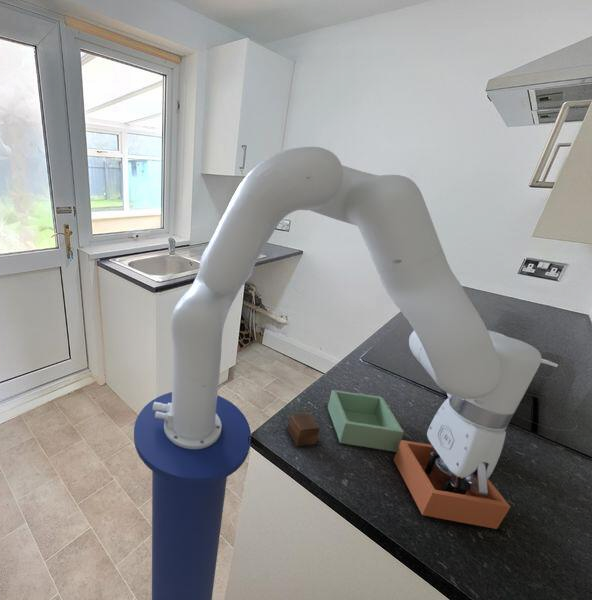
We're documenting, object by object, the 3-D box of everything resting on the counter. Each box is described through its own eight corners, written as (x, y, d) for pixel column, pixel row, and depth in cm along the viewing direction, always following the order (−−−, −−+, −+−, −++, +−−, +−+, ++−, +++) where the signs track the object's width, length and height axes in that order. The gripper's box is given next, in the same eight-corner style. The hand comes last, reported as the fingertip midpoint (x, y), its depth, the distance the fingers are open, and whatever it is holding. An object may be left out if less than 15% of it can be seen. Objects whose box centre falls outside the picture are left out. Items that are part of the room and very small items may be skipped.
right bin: (422, 515, 54) (432, 492, 52) (393, 460, 64) (401, 439, 62) (497, 529, 52) (510, 506, 50) (455, 470, 63) (464, 449, 61)
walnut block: (296, 446, 67) (300, 429, 65) (287, 430, 71) (290, 414, 69) (315, 444, 67) (320, 427, 66) (305, 428, 72) (309, 413, 70)
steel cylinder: (435, 495, 56) (444, 475, 54) (422, 474, 60) (430, 455, 58) (461, 500, 56) (472, 480, 54) (447, 478, 60) (456, 459, 58)
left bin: (339, 442, 68) (345, 423, 66) (327, 407, 79) (332, 389, 77) (396, 452, 66) (404, 432, 64) (376, 414, 77) (382, 396, 75)
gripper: (427, 375, 60) (399, 447, 66) (490, 443, 44) (445, 528, 51) (470, 380, 59) (438, 453, 65) (551, 452, 43) (497, 538, 50)
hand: (441, 485), depth 58 cm, fingers closed on steel cylinder, 4 cm apart
